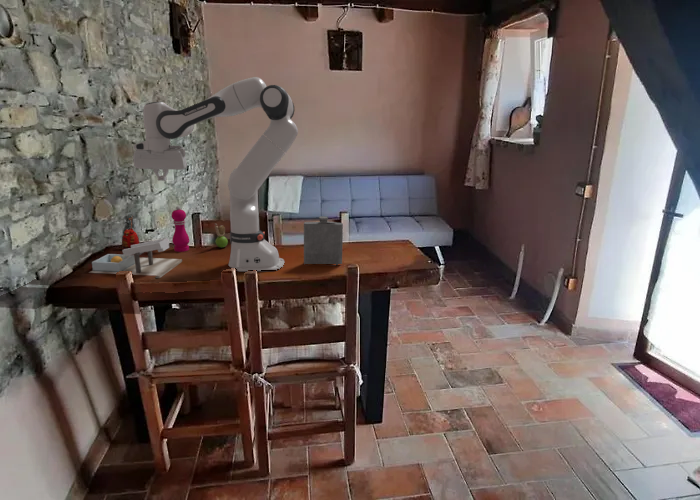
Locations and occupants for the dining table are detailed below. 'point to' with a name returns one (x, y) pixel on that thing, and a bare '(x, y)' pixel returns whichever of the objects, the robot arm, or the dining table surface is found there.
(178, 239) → the pepper mill
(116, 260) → the ball
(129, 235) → the red clay folk toy
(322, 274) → the dining table surface
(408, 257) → the dining table surface
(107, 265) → the grey open tray
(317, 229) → the hip flask
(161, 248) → the lever
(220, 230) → the snail figurine
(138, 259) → the base board
